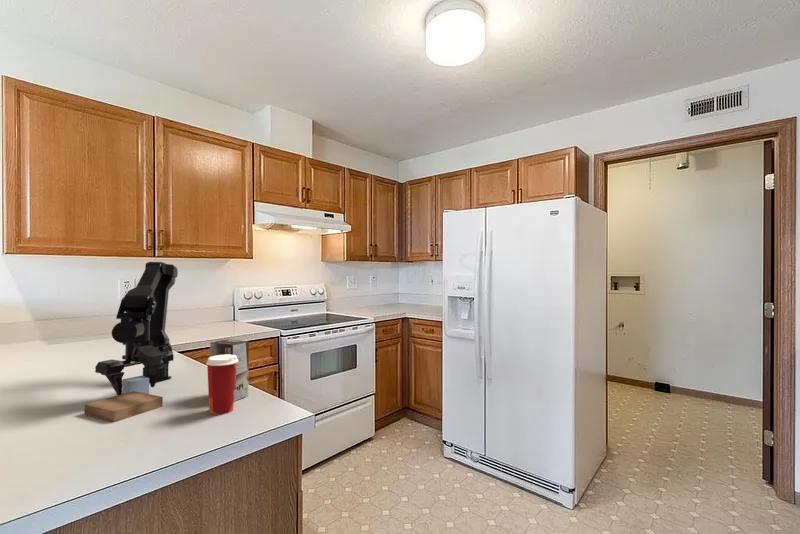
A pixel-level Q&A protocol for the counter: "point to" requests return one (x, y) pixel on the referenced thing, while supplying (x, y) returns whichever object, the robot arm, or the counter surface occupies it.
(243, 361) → the coffee box
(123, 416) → the base
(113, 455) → the counter surface
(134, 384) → the block
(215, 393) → the paper cup
